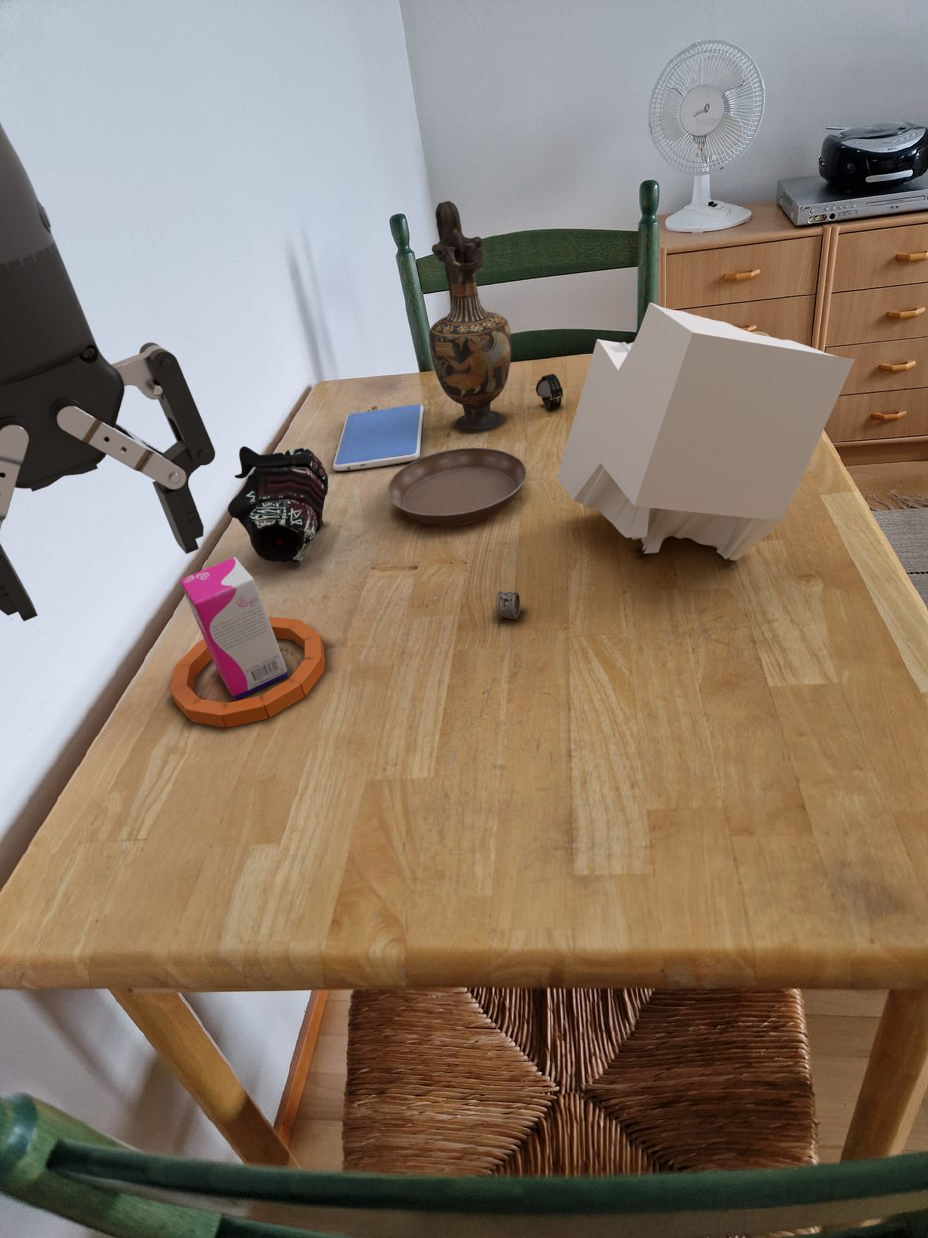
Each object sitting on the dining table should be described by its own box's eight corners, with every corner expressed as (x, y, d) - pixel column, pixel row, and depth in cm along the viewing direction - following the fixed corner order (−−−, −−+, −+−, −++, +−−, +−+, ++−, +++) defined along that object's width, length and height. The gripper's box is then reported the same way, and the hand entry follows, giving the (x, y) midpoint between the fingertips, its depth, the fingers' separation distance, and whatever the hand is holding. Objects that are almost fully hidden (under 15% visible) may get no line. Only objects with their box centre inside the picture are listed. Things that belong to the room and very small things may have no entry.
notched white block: (547, 498, 97) (609, 274, 84) (670, 511, 101) (747, 299, 88) (603, 591, 81) (691, 332, 67) (747, 602, 85) (855, 359, 72)
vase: (451, 444, 120) (414, 220, 103) (435, 415, 130) (399, 206, 113) (529, 426, 121) (505, 202, 104) (507, 399, 131) (482, 190, 114)
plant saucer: (539, 520, 99) (537, 497, 97) (393, 545, 99) (388, 523, 97) (518, 458, 113) (515, 438, 111) (390, 481, 113) (386, 460, 112)
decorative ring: (503, 608, 85) (500, 583, 84) (521, 608, 85) (518, 584, 83) (497, 624, 83) (494, 600, 81) (516, 625, 83) (513, 600, 81)
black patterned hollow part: (365, 559, 98) (353, 488, 107) (283, 478, 87) (278, 407, 96) (294, 601, 100) (288, 528, 109) (206, 526, 90) (208, 452, 99)
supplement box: (270, 648, 85) (236, 554, 79) (290, 676, 81) (256, 579, 74) (216, 672, 84) (177, 577, 77) (234, 702, 79) (194, 604, 72)
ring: (216, 749, 74) (210, 736, 73) (154, 679, 84) (148, 667, 83) (352, 669, 81) (348, 656, 80) (280, 612, 91) (275, 600, 90)
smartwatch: (564, 400, 127) (562, 368, 125) (564, 413, 123) (561, 381, 120) (537, 403, 128) (534, 371, 125) (536, 416, 124) (533, 384, 121)
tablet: (420, 462, 117) (418, 453, 116) (332, 474, 118) (330, 465, 117) (425, 410, 133) (423, 402, 132) (347, 421, 134) (346, 413, 133)
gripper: (107, 207, 40) (214, 506, 49) (-233, 287, 34) (-40, 605, 44) (149, 218, 34) (261, 552, 44) (-247, 315, 29) (-22, 672, 38)
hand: (110, 578), depth 44 cm, fingers open, 8 cm apart
